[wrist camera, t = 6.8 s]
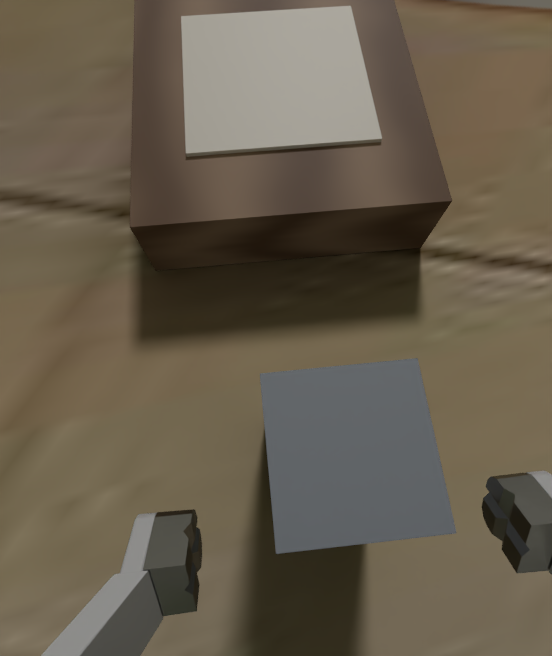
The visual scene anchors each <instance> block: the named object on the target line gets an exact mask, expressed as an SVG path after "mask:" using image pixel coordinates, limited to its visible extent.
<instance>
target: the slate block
mask: <svg viewBox="0 0 552 656" xmlns="http://www.w3.org/2000/svg"><path fill="white" fill-rule="evenodd" d="M260 381H261V392H262V403H263V414H264V425H265V437H266V448H267V459H268V470H269V481H270V492H271V504H272V515H273V526H274V537H275V548H276V554H280V553H289V552H297V551H306V550H315V549H323V548H332V547H341V546H349V545H358V544H367V543H375V542H384V541H393V540H402V539H410V538H419V537H428V536H436V535H445V534H454V533H456V529H455V525H454V520H453V516H452V511H451V507H450V502H449V498H448V493H447V489H446V484H445V480H444V475H443V471H442V466H441V462H440V457H439V453H438V448H437V444H436V439H435V435H434V430H433V426H432V421H431V417H430V412H429V408H428V404H427V399H426V395H425V390H424V386H423V381H422V377H421V372H420V368H419V363H418V359H417V358H416V359H405V360H395V361H385V362H375V363H364V364H354V365H344V366H334V367H323V368H313V369H303V370H293V371H282V372H272V373H262V374H260Z"/></svg>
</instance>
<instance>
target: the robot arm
mask: <svg viewBox="0 0 552 656" xmlns="http://www.w3.org/2000/svg"><path fill="white" fill-rule="evenodd" d="M486 488H487V489H488V491H489V493H488V494H487V495H486V496H485V497H484V498H483V503H482V511H483V517H484V520H485V522H486V525H487V527H488V528H489V530H490V532H491V533H492V534H493V535H494V536H496V537H497V538H499V539H500V540H502V551H503V552H504V554H505V556H506V557H507V559H508V560H509V562H510V563H511V565H512V567H513V568H514V570H515V571H516V573H526V572H537V571H549V570H550V571H549V573H550V574H552V475H551V474H550V473H548V472H546V471H536V472H527V473H516V474H508V475H500V476H492V477H490V478H489V479H488V480H487V484H486ZM196 526H197V515H196V511H195V510H194V509H193V510H181V511H168V512H157V513H147V514H138V516H137V517H136V519H135V521H134V525H133V528H132V532H131V535H130V539H129V542H128V546H127V550H126V553H125V557H124V560H123V564H122V567H121V571H120V574H114V575H113V576H112V577H111V578H110V579H109V580H108V582H107V583H106V584H105V585H104V586H103V587H102V588H101V589H100V590H99V592H98V593H97V594H96V595H95V596H94V597H93V598H92V599H91V600H90V602H89V603H88V604H87V605H86V606H85V607H84V608H83V609H82V610H81V612H80V613H79V614H78V615H77V616H76V617H75V618H74V619H73V621H72V622H71V623H70V624H69V625H68V626H67V627H66V628H65V629H64V631H63V632H62V633H61V634H60V635H59V636H58V637H57V638H56V639H55V641H54V642H53V643H52V644H51V645H50V646H49V647H48V648H47V649H46V651H45V652H44V653H43V654H42V655H41V656H140V655H141V654H142V652H143V650H144V649H145V647H146V646H147V644H148V642H149V641H150V639H151V638H152V636H153V634H154V633H155V631H156V630H157V628H158V626H159V625H160V623H161V621H162V620H163V616H168V615H174V614H181V613H188V612H194V611H197V604H198V594H199V580H198V576H197V572H198V571H199V570H200V568H201V562H202V540H201V533H200V529H198V528H197V527H196Z"/></svg>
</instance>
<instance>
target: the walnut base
mask: <svg viewBox="0 0 552 656" xmlns="http://www.w3.org/2000/svg"><path fill="white" fill-rule="evenodd" d="M451 202H452V199H451V195H450V192H449V188H448V185H447V181H446V178H445V175H444V171H443V168H442V164H441V161H440V157H439V154H438V150H437V147H436V144H435V140H434V137H433V133H432V130H431V126H430V123H429V119H428V116H427V112H426V109H425V106H424V102H423V99H422V95H421V92H420V88H419V85H418V81H417V78H416V75H415V71H414V68H413V64H412V61H411V57H410V54H409V50H408V47H407V43H406V40H405V37H404V33H403V30H402V26H401V23H400V19H399V16H398V12H397V9H396V6H395V2H394V0H135V5H134V53H133V101H132V150H131V198H130V228H131V230H132V232H133V233H134V235H135V237H136V238H137V240H138V242H139V243H140V245H141V247H142V248H143V250H144V252H145V253H146V255H147V257H148V259H149V260H150V262H151V264H152V265H153V267H154V269H155V270H156V271H158V270H170V269H181V268H193V267H205V266H216V265H228V264H239V263H251V262H263V261H274V260H286V259H297V258H309V257H320V256H332V255H344V254H355V253H367V252H378V251H390V250H401V249H413V248H421V247H422V245H423V244H424V242H425V241H426V239H427V238H428V236H429V235H430V233H431V232H432V230H433V229H434V227H435V226H436V224H437V223H438V221H439V220H440V218H441V217H442V215H443V214H444V212H445V211H446V209H447V208H448V206H449V205H450V203H451Z"/></svg>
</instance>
